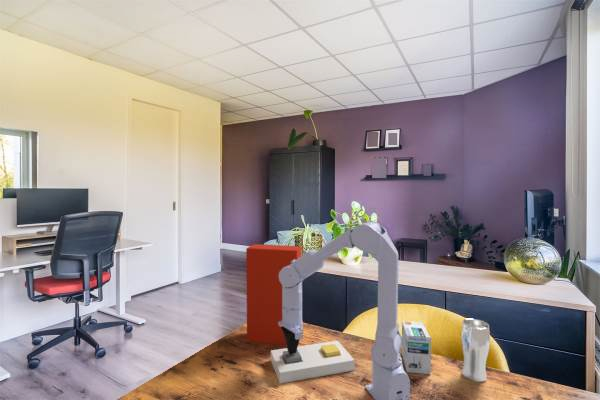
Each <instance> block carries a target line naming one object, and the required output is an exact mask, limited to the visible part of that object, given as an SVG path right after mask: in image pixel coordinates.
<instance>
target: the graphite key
mask: <svg viewBox="0 0 600 400" xmlns="http://www.w3.org/2000/svg"><path fill="white" fill-rule="evenodd" d="M283 360H284V362H285V364H291V363H298V362H301V355H300V354H299V352H298V350H297V351H296V353H293V354H289V352H288V351H283Z"/></svg>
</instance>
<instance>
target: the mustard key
mask: <svg viewBox="0 0 600 400" xmlns="http://www.w3.org/2000/svg"><path fill="white" fill-rule="evenodd" d="M321 352H322V354H323V355H324V357H325V358H328V357H334V356H340V350H339V349H338V348H337V347H336V345H335V344H330V345H324V346H321Z"/></svg>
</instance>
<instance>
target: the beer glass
mask: <svg viewBox="0 0 600 400" xmlns="http://www.w3.org/2000/svg"><path fill="white" fill-rule="evenodd" d="M490 332H491V331H490V325H489V323H488V322H487V321H484V320H481V319H475V318H465V319H463V320H462V324H461V333H460V335H461V339H460V340H461V349H462V354H463V366H462V369H461V374H462V376H463V377H464V378H466V379H467V380H469V381H471V380H472V381H471V382H474V381H476V382H475V383H484V381H485V382H486V381H487V377H488V376H487V372H486V365H487V359H488V355H489V350H490V342H491V335H490V334H491V333H490Z"/></svg>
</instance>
